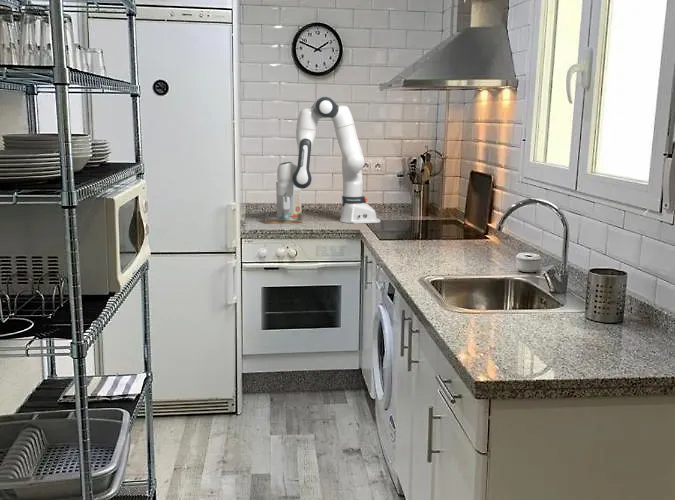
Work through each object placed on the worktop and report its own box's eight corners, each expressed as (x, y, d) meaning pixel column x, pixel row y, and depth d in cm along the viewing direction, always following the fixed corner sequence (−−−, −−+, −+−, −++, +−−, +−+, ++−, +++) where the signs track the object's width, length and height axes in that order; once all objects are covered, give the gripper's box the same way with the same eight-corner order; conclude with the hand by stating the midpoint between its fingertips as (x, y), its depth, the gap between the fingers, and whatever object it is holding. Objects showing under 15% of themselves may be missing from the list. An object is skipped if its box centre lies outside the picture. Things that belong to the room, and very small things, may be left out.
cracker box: (295, 215, 412) (295, 180, 408) (302, 216, 407) (301, 180, 404) (276, 217, 403) (275, 181, 399) (282, 218, 399) (281, 182, 395)
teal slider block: (289, 219, 389) (289, 211, 388) (289, 220, 384) (289, 212, 383) (281, 219, 388) (281, 211, 387) (282, 220, 384) (282, 212, 383)
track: (300, 220, 392) (300, 210, 391) (301, 223, 383) (301, 212, 382) (264, 221, 390) (264, 211, 389) (265, 223, 380) (265, 213, 379)
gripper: (292, 193, 374) (292, 219, 376) (290, 190, 393) (290, 214, 396) (280, 193, 373) (280, 219, 375) (278, 190, 393) (278, 214, 395)
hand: (285, 217), depth 386 cm, fingers closed on teal slider block, 5 cm apart
